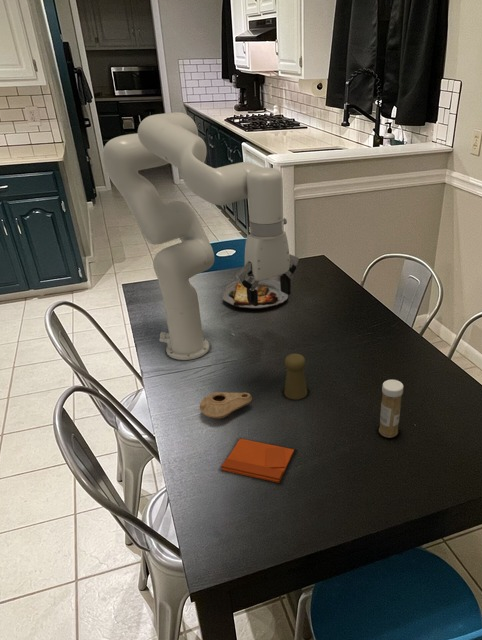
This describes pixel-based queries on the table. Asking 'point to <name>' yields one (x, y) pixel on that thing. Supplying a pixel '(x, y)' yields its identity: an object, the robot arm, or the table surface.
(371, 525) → the table surface
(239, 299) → the food plate
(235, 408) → the pottery oil lamp
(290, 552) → the table surface
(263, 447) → the rust cloth
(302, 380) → the cork
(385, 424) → the sprinkles bottle
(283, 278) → the robot arm
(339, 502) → the table surface
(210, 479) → the table surface
